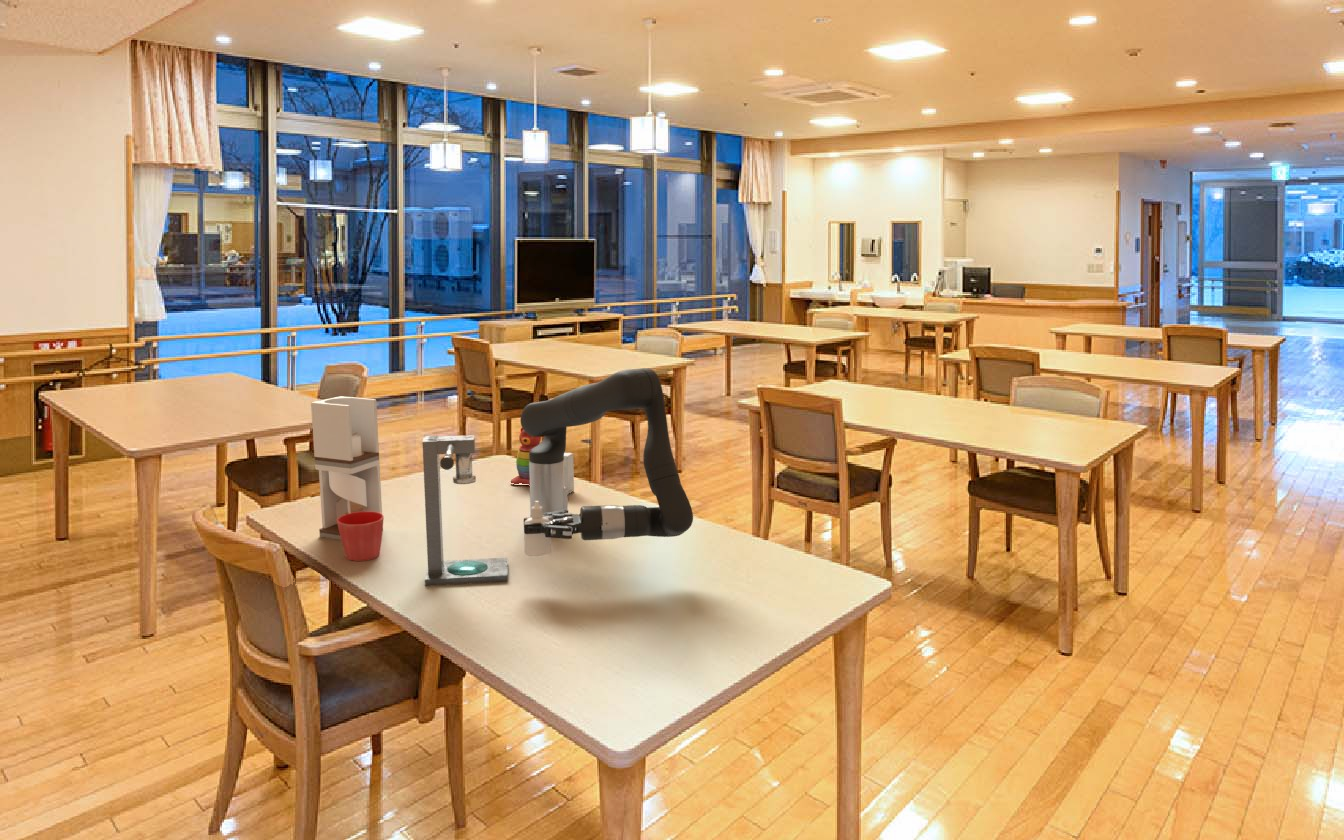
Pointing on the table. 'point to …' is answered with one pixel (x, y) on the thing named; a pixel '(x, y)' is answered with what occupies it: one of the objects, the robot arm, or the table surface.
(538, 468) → the robot arm
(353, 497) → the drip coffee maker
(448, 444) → the arbor press
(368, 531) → the flower pot
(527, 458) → the stacking bear
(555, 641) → the table surface
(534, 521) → the eye dropper bottle
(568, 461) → the skincare box
